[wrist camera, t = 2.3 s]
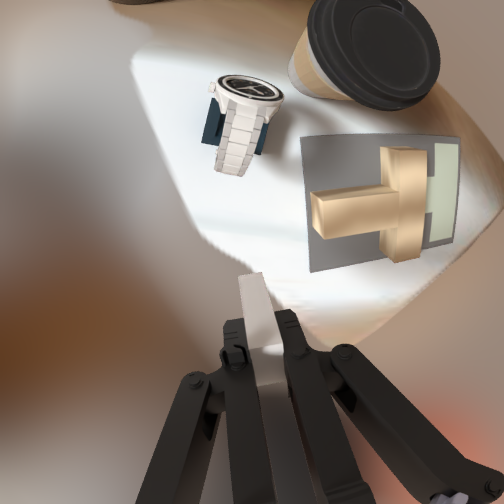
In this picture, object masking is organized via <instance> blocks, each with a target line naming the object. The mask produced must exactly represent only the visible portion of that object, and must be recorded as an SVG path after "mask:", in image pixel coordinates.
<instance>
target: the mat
mask: <svg viewBox="0 0 504 504" xmlns="http://www.w3.org/2000/svg"><path fill="white" fill-rule="evenodd" d="M300 143H301V152H302V162H303V173H304V184H305V197H306V210H307V225H308V243H309V264H310V273H313V272H318V271H323V270H328V269H333V268H339V267H344V266H349V265H354V264H358V263H363V262H368V261H373V260H378V259H382V258H387V256H386V255H385V254H384V253H383V252H382V251H380V250H379V241H380V230H379V231H373V232H367V233H361V234H355V235H349V236H343V237H338V238H332V239H326V240H324V239H323V238H322V237H321V235H320V234H319V233H318V232H317V231H316V230H315V229H314V227H313V226H312V210H311V196H310V192H313V191H321V190H329V189H338V188H347V187H356V186H366V185H377V184H381V158H380V147H382V146H408V147H413V148H417V149H422V150H426V151H427V186H426V205H425V218H424V228H423V237H422V246H421V250H423V249H428V248H432V247H436V246H441V245H445V244H449V243H453V238H454V231H455V224H456V216H457V206H458V195H459V180H460V138H459V137H448V136H435V135H417V134H341V135H322V136H308V137H300Z"/></svg>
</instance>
